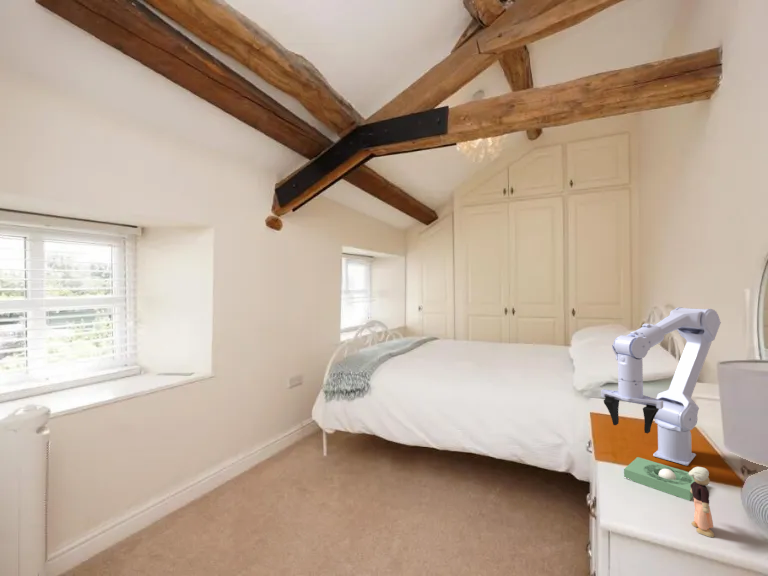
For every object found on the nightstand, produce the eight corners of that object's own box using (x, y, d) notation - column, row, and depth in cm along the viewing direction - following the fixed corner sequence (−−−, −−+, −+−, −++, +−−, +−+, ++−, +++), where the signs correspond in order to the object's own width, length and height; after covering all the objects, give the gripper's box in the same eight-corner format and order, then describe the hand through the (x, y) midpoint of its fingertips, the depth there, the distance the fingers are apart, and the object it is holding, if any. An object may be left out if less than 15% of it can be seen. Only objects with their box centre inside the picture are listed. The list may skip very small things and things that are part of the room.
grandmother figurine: (725, 541, 73) (724, 477, 72) (702, 539, 73) (701, 475, 73) (700, 517, 80) (699, 459, 80) (680, 515, 81) (679, 457, 81)
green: (637, 465, 103) (637, 456, 103) (700, 485, 92) (700, 475, 92) (624, 478, 97) (624, 469, 97) (689, 500, 86) (689, 490, 86)
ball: (680, 474, 93) (667, 475, 96) (669, 464, 93) (655, 465, 96) (679, 487, 91) (665, 488, 94) (667, 477, 91) (653, 478, 94)
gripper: (596, 377, 106) (596, 424, 106) (657, 387, 95) (657, 440, 95) (606, 372, 110) (606, 418, 111) (665, 382, 99) (666, 432, 99)
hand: (631, 428), depth 103 cm, fingers open, 7 cm apart
